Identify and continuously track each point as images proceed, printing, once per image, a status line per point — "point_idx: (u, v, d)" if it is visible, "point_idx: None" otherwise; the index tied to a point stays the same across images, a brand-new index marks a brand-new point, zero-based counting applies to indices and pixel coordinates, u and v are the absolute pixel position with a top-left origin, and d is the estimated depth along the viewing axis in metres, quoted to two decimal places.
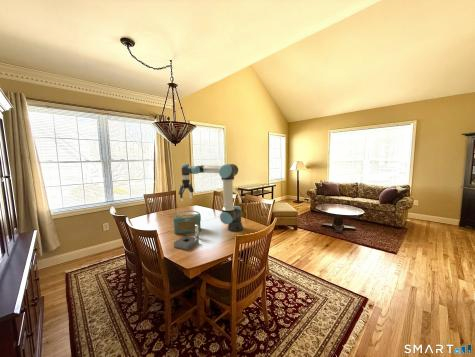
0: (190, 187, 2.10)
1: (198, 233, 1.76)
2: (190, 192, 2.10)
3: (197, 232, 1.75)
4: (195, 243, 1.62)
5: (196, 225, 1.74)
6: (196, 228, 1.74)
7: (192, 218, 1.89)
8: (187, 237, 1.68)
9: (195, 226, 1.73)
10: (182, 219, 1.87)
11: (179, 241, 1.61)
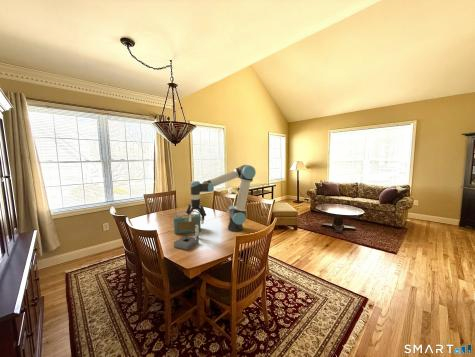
0: None
1: (198, 233, 1.76)
2: (202, 216, 1.72)
3: (197, 232, 1.75)
4: (195, 243, 1.62)
5: (196, 225, 1.74)
6: (196, 228, 1.74)
7: (192, 218, 1.89)
8: (187, 237, 1.68)
9: (195, 226, 1.73)
10: (182, 219, 1.87)
11: (179, 241, 1.61)
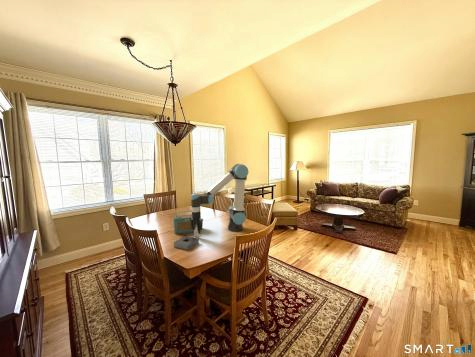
0: None
1: None
2: (198, 230, 1.76)
3: None
4: (195, 243, 1.62)
5: (196, 225, 1.74)
6: (196, 228, 1.74)
7: None
8: (187, 237, 1.68)
9: (195, 226, 1.73)
10: (182, 219, 1.87)
11: (179, 241, 1.61)
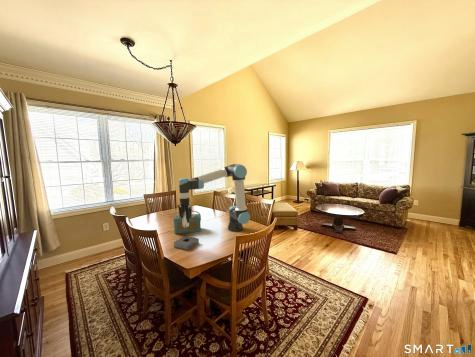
0: None
1: None
2: None
3: None
4: (195, 243, 1.62)
5: (184, 213, 1.59)
6: (184, 216, 1.59)
7: (192, 218, 1.89)
8: (187, 237, 1.68)
9: (183, 214, 1.58)
10: None
11: (179, 241, 1.61)
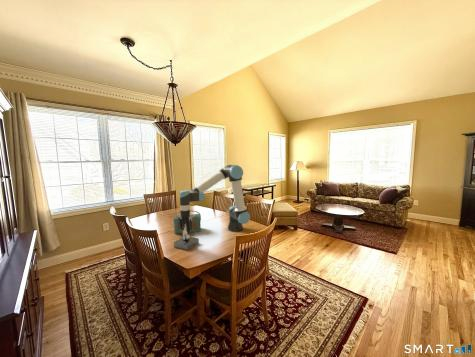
0: None
1: None
2: (187, 230, 1.61)
3: None
4: (195, 243, 1.62)
5: (185, 225, 1.60)
6: (185, 228, 1.60)
7: None
8: None
9: (184, 226, 1.59)
10: None
11: (179, 241, 1.61)
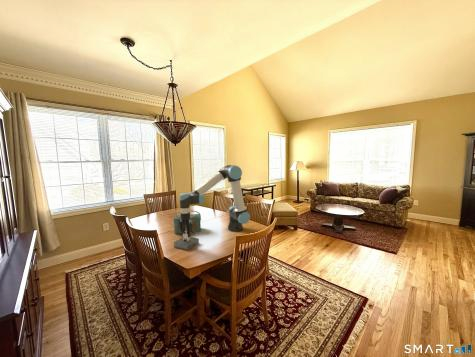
0: None
1: None
2: None
3: (186, 239, 1.61)
4: (195, 243, 1.62)
5: (185, 231, 1.61)
6: (185, 234, 1.61)
7: (192, 218, 1.89)
8: None
9: (184, 232, 1.60)
10: None
11: (179, 241, 1.61)
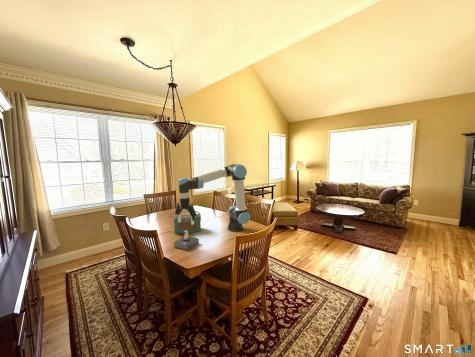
0: None
1: None
2: (192, 216, 1.58)
3: (186, 239, 1.61)
4: (195, 243, 1.62)
5: (185, 231, 1.61)
6: (185, 234, 1.61)
7: None
8: None
9: (184, 232, 1.60)
10: (182, 219, 1.87)
11: (179, 241, 1.61)
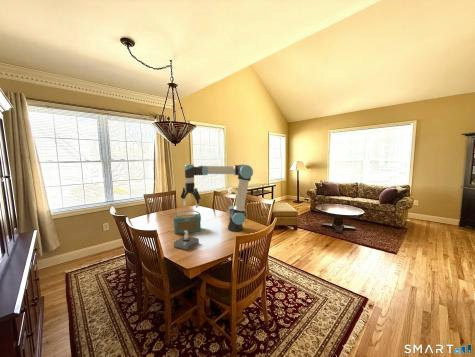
0: None
1: None
2: None
3: (186, 239, 1.61)
4: (195, 243, 1.62)
5: (185, 231, 1.61)
6: (185, 234, 1.61)
7: (192, 218, 1.89)
8: None
9: (184, 232, 1.60)
10: (182, 219, 1.87)
11: (179, 241, 1.61)
